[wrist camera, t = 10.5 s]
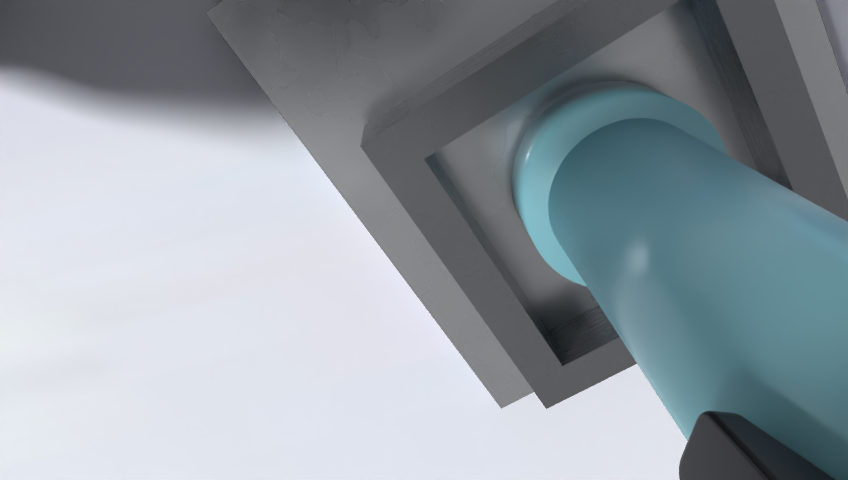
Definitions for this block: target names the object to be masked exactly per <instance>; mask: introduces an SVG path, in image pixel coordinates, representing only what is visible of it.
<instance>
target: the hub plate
mask: <svg viewBox="0 0 848 480" xmlns="http://www.w3.org/2000/svg"><path fill="white" fill-rule="evenodd" d="M205 14H206V15H207V16H208V18H209V19H210V20H211V22H212V23H213V24H214V26H215V27H216V28H217V30H218V31H219V32H220V34H221V35H222V36H223V38H224V39H225V40H226V42H227V43H228V44H229V46H230V47H231V48H232V50H233V51H234V52H235V54H236V55H237V56H238V58H239V59H240V60H241V62H242V63H243V64H244V66H245V67H246V68H247V70H248V71H249V72H250V74H251V75H252V76H253V78H254V79H255V80H256V82H257V83H258V84H259V86H260V87H261V88H262V90H263V91H264V92H265V94H266V95H267V96H268V98H269V99H270V100H271V102H272V103H273V104H274V106H275V107H276V108H277V110H278V111H279V112H280V114H281V115H282V116H283V118H284V119H285V120H286V122H287V123H288V124H289V126H290V127H291V128H292V130H293V131H294V132H295V134H296V135H297V136H298V138H299V139H300V140H301V142H302V143H303V144H304V146H305V147H306V148H307V150H308V151H309V152H310V154H311V155H312V156H313V158H314V159H315V160H316V162H317V163H318V164H319V166H320V167H321V169H322V170H323V171H324V173H325V174H326V175H327V177H328V178H329V179H330V181H331V182H332V183H333V185H334V186H335V187H336V189H337V190H338V191H339V193H340V194H341V195H342V197H343V198H344V199H345V201H346V202H347V203H348V205H349V206H350V207H351V209H352V210H353V211H354V213H355V214H356V215H357V217H358V218H359V219H360V221H361V222H362V223H363V225H364V226H365V227H366V229H367V230H368V231H369V233H370V234H371V235H372V237H373V238H374V239H375V241H376V242H377V243H378V245H379V246H380V247H381V249H382V250H383V251H384V253H385V254H386V255H387V257H388V258H389V259H390V261H391V262H392V263H393V265H394V266H395V267H396V269H397V270H398V271H399V273H400V274H401V275H402V277H403V278H404V279H405V281H406V282H407V283H408V285H409V286H410V287H411V289H412V290H413V291H414V293H415V294H416V295H417V297H418V298H419V299H420V301H421V302H422V303H423V305H424V306H425V307H426V309H427V310H428V311H429V313H430V314H431V315H432V317H433V318H434V319H435V321H436V322H437V323H438V325H439V326H440V327H441V329H442V330H443V331H444V333H445V334H446V335H447V337H448V338H449V339H450V341H451V342H452V343H453V345H454V346H455V347H456V349H457V350H458V351H459V353H460V354H461V355H462V357H463V358H464V359H465V361H466V362H467V363H468V365H469V366H470V367H471V369H472V370H473V371H474V373H475V374H476V375H477V377H478V378H479V379H480V381H481V382H482V383H483V385H484V386H485V387H486V389H487V390H488V391H489V393H490V394H491V395H492V397H493V398H494V399H495V401H496V402H497V403H498V405H499V406H500V407H501V408H503V407H505V406H507V405H509V404H511V403H513V402H515V401H517V400H519V399H521V398H523V397H525V396H527V395H529V394H531V393H533V392H535V393H536V395H537V396H538V398H539V399H540V400H541V402H542V403H543V405H544V406H545V408H546V409H547V408H549V407H551V406H553V405H555V404H557V403H559V402H561V401H563V400H565V399H567V398H569V397H571V396H573V395H575V394H577V393H579V392H581V391H583V390H585V389H587V388H589V387H591V386H593V385H595V384H597V383H599V382H601V381H603V380H605V379H607V378H609V377H611V376H613V375H615V374H617V373H619V372H621V371H623V370H625V369H627V368H629V367H631V366H633V365H635V364H637V362H636V361H635V359H634V358H633V356H632V355H631V353H630V352H629V350H628V349H627V347H626V346H625V344H624V342H623V341H622V339H621V338H620V336H619V335H618V333H617V332H616V330H615V329H614V327H613V325H612V324H611V322H610V321H609V319H608V318H607V316H606V315H605V313H604V312H603V310H602V309H601V307H600V305H599V304H598V302H597V301H596V299H595V298H594V296H593V295H592V293H591V292H590V290H589V289H588V287H587V286H583V285H580V284H578V283H575V282H573V281H571V280H569V279H567V278H565V277H563V276H562V275H561V274H559V273H558V272H557V271H555V270H554V269H553V268H552V267H551V266H550V265H549V264H548V263H547V262H546V261H545V260H544V259H543V257H542V256H541V254H540V253H539V252H538V250H537V248H536V246H535V245H534V243H533V241H532V239H531V237H530V236H529V234H528V232H527V230H526V229H525V227H524V225H523V223H522V221H521V219H520V217H519V216H518V213H517V210H516V207H515V205H514V200H513V195H512V170H513V165H514V161H515V157H516V154H517V151H518V148H519V146H520V144H521V142H522V140H523V138H524V136H525V134H526V133H527V131H528V130H529V128H530V127H531V125H532V124H533V123H534V121H535V120H536V119H537V118H538V117H539V115H540V114H541V113H542V112H544V111H545V110H546V109H547V108H548V107H549V106H550V105H551V104H553V103H554V102H555V101H557V100H558V99H560V98H561V97H563V96H565V95H566V94H568V93H570V92H572V91H574V90H576V89H579V88H581V87H584V86H587V85H591V84H594V83H598V82H606V81H627V82H634V83H638V84H642V85H645V86H648V87H650V88H652V89H654V90H657V91H659V92H661V93H663V94H665V95H667V96H669V97H672V98H674V99H676V100H678V101H680V102H682V103H684V104H687V105H689V106H691V107H692V108H693V109H695V110H696V111H698V112H699V113H701V114H702V115H703V116H704V117H705V118H706V119H707V120H708V121H709V122H710V123H711V124H712V126H713V127H714V128H715V129H716V131H717V132H718V134H719V136H720V138H721V140H722V141H723V144H724V146H725V149H726V152H727V155H728V156H730V157H732V158H733V159H735V160H737V161H739V162H741V163H742V164H744V165H746V166H748V167H750V168H751V169H753V170H755V171H757V172H759V173H760V174H762V175H764V176H766V177H768V178H769V179H771V180H773V181H775V182H777V183H778V184H780V185H782V186H784V187H786V188H787V189H789V190H791V191H793V192H795V193H796V194H798V195H800V196H802V197H804V198H806V199H807V200H809V201H811V202H813V203H815V204H816V205H818V206H820V207H822V208H824V209H825V210H827V211H829V212H831V213H833V214H834V215H836V216H838V217H840V218H842V219H843V220H845V221H847V222H848V93H847V90H846V88H845V85H844V82H843V79H842V76H841V73H840V70H839V67H838V64H837V61H836V58H835V55H834V52H833V50H832V47H831V44H830V41H829V38H828V35H827V32H826V29H825V26H824V23H823V20H822V17H821V15H820V12H819V9H818V6H817V3H816V0H222V1H221V2H220V3H218V4H217V5H216V6H214V7H213V8H212V9H210V10H209V11H208V12H206V13H205Z"/></svg>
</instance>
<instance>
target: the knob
mask: <svg viewBox="0 0 848 480" xmlns="http://www.w3.org/2000/svg"><path fill="white" fill-rule="evenodd" d="M512 195H513V200H514V205H515V207H516V210H517V213H518V216H519V217H520V219H521V221H522V223H523V225H524V227H525V229H526V230H527V232H528V234H529V236H530V237H531V239H532V241H533V243H534V245H535V246H536V248H537V250H538V252H539V253H540V254H541V256H542V257H543V259H544V260H545V261H546V262H547V263H548V264H549V265H550V266H551V267H552V268H553V269H554V270H555V271H557V272H558V273H559V274H561V275H562V276H563V277H565V278H567V279H569V280H571V281H573V282H575V283H578V284H580V285H583V286H587V287H588V289H589V290H590V292H591V293H592V295H593V296H594V298H595V299H596V301H597V302H598V304H599V305H600V307H601V309H602V310H603V312H604V313H605V315H606V316H607V318H608V319H609V321H610V322H611V324H612V325H613V327H614V329H615V330H616V332H617V333H618V335H619V336H620V338H621V339H622V341H623V342H624V344H625V346H626V347H627V349H628V350H629V352H630V353H631V355H632V356H633V358H634V359H635V361H636V362H637V364H638V366H639V367H640V369H641V370H642V372H643V373H644V375H645V376H646V378H647V379H648V381H649V382H650V384H651V386H652V387H653V389H654V390H655V392H656V393H657V395H658V396H659V398H660V399H661V401H662V402H663V404H664V406H665V407H666V409H667V410H668V412H669V413H670V415H671V416H672V418H673V419H674V421H675V422H676V424H677V426H678V427H679V429H680V430H681V432H682V433H683V435H684V436H685V438H686V439H687V441H688V440H689V437H690V435H691V432H692V430H693V427H694V425H695V422H696V420H697V418H698V416H699V415H700V414H701V413H703V412H705V411H719V412H730V413H736V414H739V415H741V416H743V417H744V418H746V419H747V420H748V421H750V422H751V423H753V424H754V425H756V426H757V427H759V428H760V429H762V430H763V431H765V432H766V433H768V434H769V435H771V436H772V437H774V438H775V439H776V440H778V441H779V442H781V443H782V444H784V445H785V446H787V447H788V448H790V449H791V450H793V451H794V452H796V453H797V454H799V455H800V456H802V457H803V458H805V459H806V460H807V461H809V462H810V463H812V464H813V465H815V466H816V467H818V468H819V469H821V470H822V471H824V472H825V473H827V474H828V475H830V476H831V477H833V478H834V479H836V480H848V222H847V221H845V220H843V219H842V218H840V217H838V216H836V215H834V214H833V213H831V212H829V211H827V210H825V209H824V208H822V207H820V206H818V205H816V204H815V203H813V202H811V201H809V200H807V199H806V198H804V197H802V196H800V195H798V194H796V193H795V192H793V191H791V190H789V189H787V188H786V187H784V186H782V185H780V184H778V183H777V182H775V181H773V180H771V179H769V178H768V177H766V176H764V175H762V174H760V173H759V172H757V171H755V170H753V169H751V168H750V167H748V166H746V165H744V164H742V163H741V162H739V161H737V160H735V159H733V158H732V157H730V156H728V155H727V152H726V149H725V146H724V144H723V141H722V140H721V138H720V136H719V134H718V132H717V131H716V129H715V128H714V127H713V126H712V124H711V123H710V122H709V121H708V120H707V119H706V118H705V117H704V116H703V115H702V114H701V113H699V112H698V111H696V110H695V109H693V108H692V107H691V106H689V105H687V104H684V103H682V102H680V101H678V100H676V99H674V98H672V97H669V96H667V95H665V94H663V93H661V92H659V91H657V90H654V89H652V88H650V87H648V86H645V85H642V84H638V83H634V82H627V81H606V82H598V83H594V84H591V85H587V86H584V87H581V88H579V89H576V90H574V91H572V92H570V93H568V94H566V95H565V96H563V97H561V98H560V99H558V100H557V101H555V102H554V103H553V104H551V105H550V106H549V107H548V108H547V109H546V110H545V111H544V112H542V113H541V114H540V115H539V117H538V118H537V119H536V120H535V121H534V123H533V124H532V125H531V127H530V128H529V130H528V131H527V133H526V134H525V136H524V138H523V140H522V142H521V144H520V146H519V148H518V151H517V154H516V157H515V161H514V165H513V170H512Z"/></svg>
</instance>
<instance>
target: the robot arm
mask: <svg viewBox="0 0 848 480" xmlns="http://www.w3.org/2000/svg"><path fill="white" fill-rule="evenodd" d="M679 477H680V480H836V479H834V478H833V477H831V476H830V475H828V474H827V473H825V472H824V471H822V470H821V469H819V468H818V467H816V466H815V465H813V464H812V463H810V462H809V461H807V460H806V459H805V458H803V457H802V456H800V455H799V454H797V453H796V452H794V451H793V450H791V449H790V448H788V447H787V446H785V445H784V444H782V443H781V442H779V441H778V440H776V439H775V438H774V437H772V436H771V435H769V434H768V433H766V432H765V431H763V430H762V429H760V428H759V427H757V426H756V425H754V424H753V423H751V422H750V421H748V420H747V419H746V418H744V417H743V416H741V415H739V414H736V413H730V412H719V411H705V412H703V413H701V414H700V415H699V416H698V418H697V420H696V422H695V425H694V427H693V430H692V432H691V435H690V437H689V440H688V442H687V445H686V447H685V450H684V452H683V455H682V457H681V460H680V465H679Z"/></svg>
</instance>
